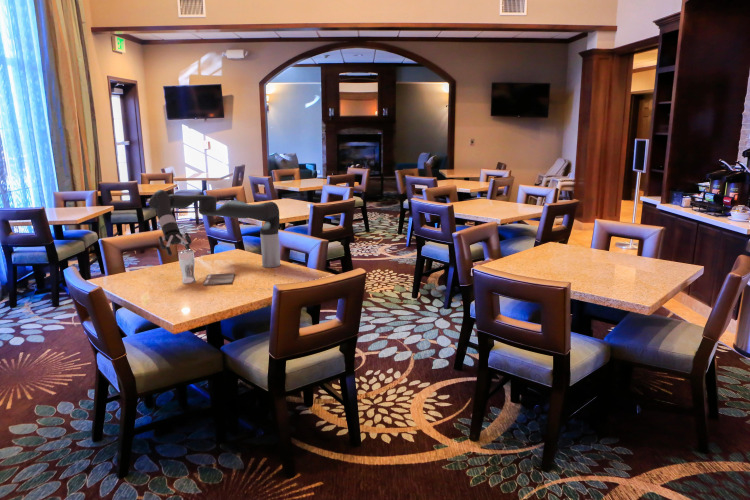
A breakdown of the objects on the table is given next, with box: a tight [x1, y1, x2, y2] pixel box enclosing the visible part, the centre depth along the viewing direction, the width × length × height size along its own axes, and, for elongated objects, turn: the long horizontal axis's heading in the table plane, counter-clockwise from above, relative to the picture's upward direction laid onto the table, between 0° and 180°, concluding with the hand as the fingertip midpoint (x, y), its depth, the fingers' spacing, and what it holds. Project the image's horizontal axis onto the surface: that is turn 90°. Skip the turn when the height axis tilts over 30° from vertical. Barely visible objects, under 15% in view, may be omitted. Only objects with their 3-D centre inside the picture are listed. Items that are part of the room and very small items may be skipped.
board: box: [202, 272, 236, 287], centre depth 259 cm, size 17×13×1 cm
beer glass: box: [178, 249, 197, 285], centre depth 255 cm, size 7×7×15 cm
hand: (179, 253), depth 258 cm, fingers open, 8 cm apart
